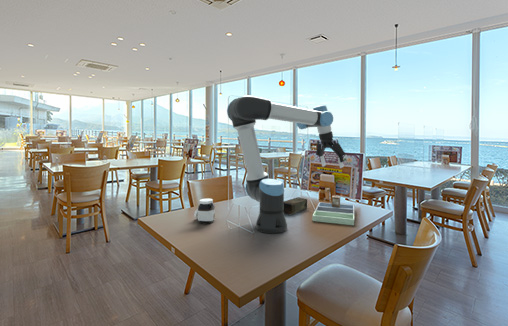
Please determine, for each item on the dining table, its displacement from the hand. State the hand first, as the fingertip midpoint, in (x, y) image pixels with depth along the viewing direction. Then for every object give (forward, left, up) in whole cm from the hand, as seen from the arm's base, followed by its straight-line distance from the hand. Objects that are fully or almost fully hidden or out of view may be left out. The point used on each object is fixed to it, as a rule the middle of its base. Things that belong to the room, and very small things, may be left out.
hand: (332, 166), depth 159 cm
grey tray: (+2, 0, -26) cm, 26 cm away
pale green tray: (+2, -20, -26) cm, 33 cm away
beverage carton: (-21, -7, -27) cm, 35 cm away
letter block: (+2, 0, -26) cm, 26 cm away
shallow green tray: (+2, -10, -26) cm, 28 cm away
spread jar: (-62, -43, -27) cm, 80 cm away
